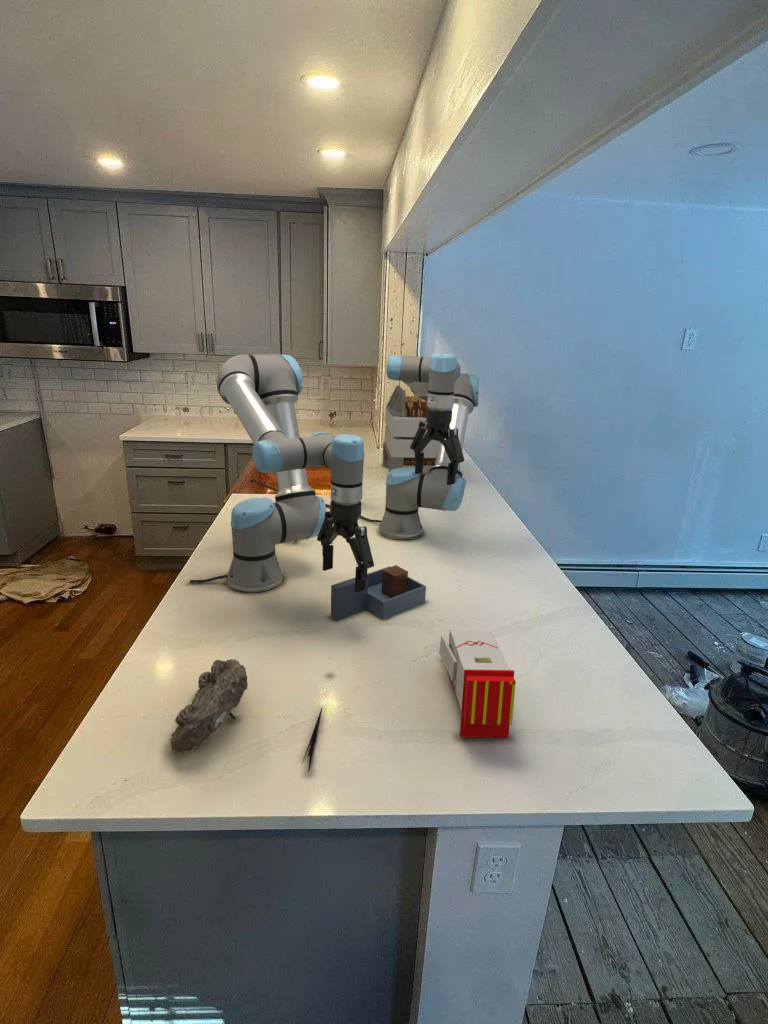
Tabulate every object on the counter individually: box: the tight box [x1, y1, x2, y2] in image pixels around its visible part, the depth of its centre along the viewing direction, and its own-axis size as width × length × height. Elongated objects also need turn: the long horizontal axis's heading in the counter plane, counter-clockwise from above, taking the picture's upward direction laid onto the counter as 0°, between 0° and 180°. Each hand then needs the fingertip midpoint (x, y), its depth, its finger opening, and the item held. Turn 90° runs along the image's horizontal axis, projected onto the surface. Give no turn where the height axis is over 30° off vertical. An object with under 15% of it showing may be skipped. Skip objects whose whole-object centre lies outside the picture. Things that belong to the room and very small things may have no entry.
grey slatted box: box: [381, 384, 461, 473], centre depth 268 cm, size 34×33×41 cm
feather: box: [301, 673, 332, 771], centre depth 108 cm, size 2×28×2 cm
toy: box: [438, 628, 517, 738], centre depth 117 cm, size 12×13×30 cm
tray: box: [330, 566, 427, 621], centre depth 150 cm, size 15×25×9 cm, turn 131°
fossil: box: [170, 658, 249, 753], centre depth 106 cm, size 22×10×15 cm
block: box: [382, 564, 409, 598], centre depth 155 cm, size 5×5×7 cm
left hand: (343, 579), depth 143 cm, fingers open, 13 cm apart
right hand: (434, 478), depth 172 cm, fingers open, 13 cm apart
